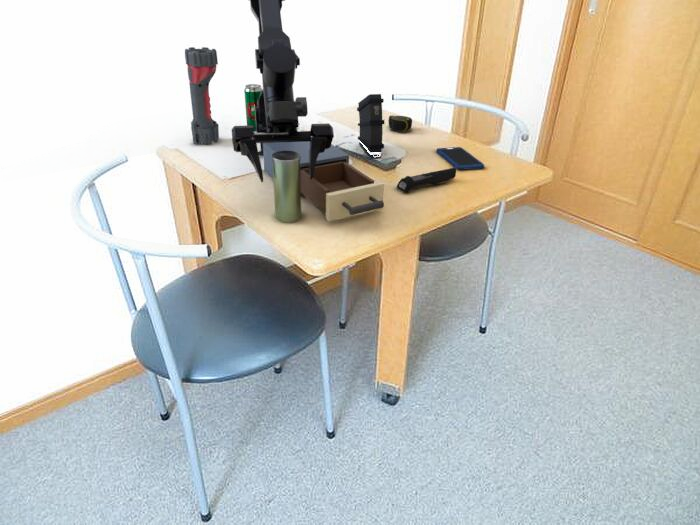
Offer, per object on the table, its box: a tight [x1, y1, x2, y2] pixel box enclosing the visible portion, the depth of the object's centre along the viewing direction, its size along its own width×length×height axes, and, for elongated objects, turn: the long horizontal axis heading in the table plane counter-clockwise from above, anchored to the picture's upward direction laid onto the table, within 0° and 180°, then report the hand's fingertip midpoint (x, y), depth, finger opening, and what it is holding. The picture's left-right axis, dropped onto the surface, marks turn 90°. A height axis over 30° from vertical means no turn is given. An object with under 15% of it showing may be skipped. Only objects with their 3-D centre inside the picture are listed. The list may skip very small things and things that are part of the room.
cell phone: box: [435, 146, 485, 171], centre depth 125 cm, size 7×14×1 cm, turn 15°
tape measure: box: [387, 115, 413, 133], centre depth 143 cm, size 7×7×4 cm
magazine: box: [356, 93, 385, 159], centre depth 125 cm, size 4×13×15 cm, turn 15°
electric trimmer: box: [396, 167, 457, 194], centre depth 110 cm, size 4×16×3 cm, turn 121°
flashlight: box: [184, 46, 220, 146], centre depth 124 cm, size 8×8×23 cm
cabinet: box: [263, 141, 350, 196], centre depth 109 cm, size 16×14×7 cm
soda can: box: [243, 83, 263, 132], centre depth 137 cm, size 5×5×12 cm
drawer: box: [300, 161, 385, 222], centre depth 97 cm, size 19×12×5 cm, turn 31°
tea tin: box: [272, 151, 302, 224], centre depth 92 cm, size 5×5×12 cm
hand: (287, 179), depth 91 cm, fingers open, 9 cm apart
